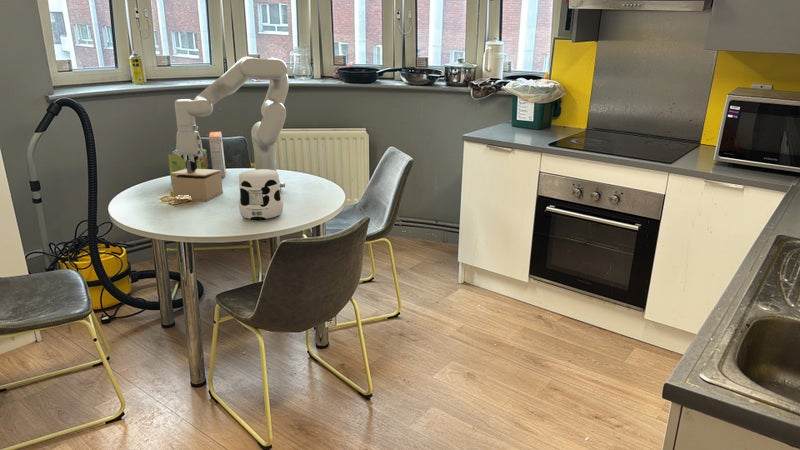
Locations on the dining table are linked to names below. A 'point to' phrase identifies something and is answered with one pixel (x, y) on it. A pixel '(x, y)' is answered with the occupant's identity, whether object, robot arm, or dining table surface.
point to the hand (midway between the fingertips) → (191, 169)
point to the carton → (198, 186)
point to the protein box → (179, 163)
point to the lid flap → (197, 172)
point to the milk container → (260, 195)
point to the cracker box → (217, 152)
